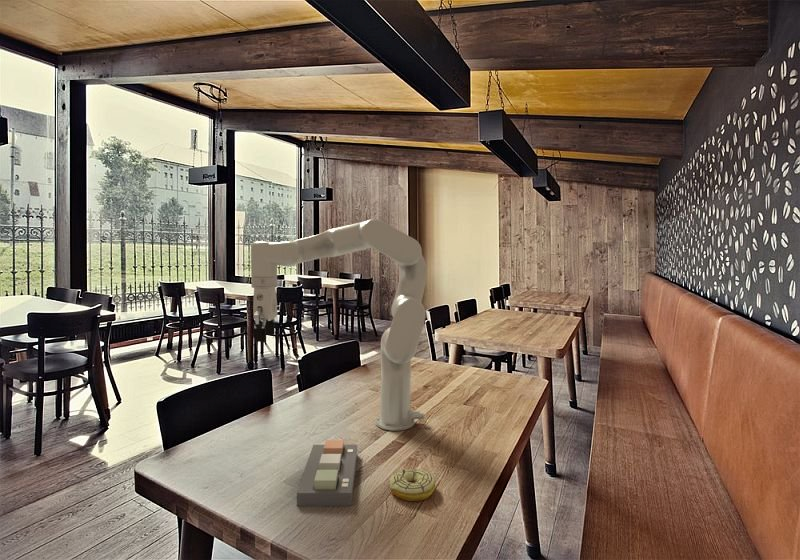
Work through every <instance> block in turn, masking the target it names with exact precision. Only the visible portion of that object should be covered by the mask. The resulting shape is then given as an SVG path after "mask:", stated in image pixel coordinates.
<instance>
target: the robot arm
mask: <svg viewBox="0 0 800 560" xmlns="http://www.w3.org/2000/svg"><path fill="white" fill-rule="evenodd" d="M368 249H374V250H375V251H377V252H379V253H380V254H382V255H384V256H386V257H387V258H390V259H391V260H393V262H396V263H397V264H398V265H399V271H400V275H399V280H398V284H397V285H398V286H397V289H396V291H395V295H394V299H393V302H392V304H391V309H390V311H391V313H390V314H391V316H392V321H391V324H390V327H388V328H387V329H385V331H384V332H383V333H382V335H381V339H380V363H381V364H380V366H381V367H380V370H381V373H380V415H378V416H377V417H375V425H376V426H377V428H378V427H379V428H380V429H383V430H385V431H386V430H387V431H393V432H395V431H405V430H409V429H411V428H412V427H414V425H415V420H424V419H425V413H423V412H422V413H421V411H420V410H415V411H414V410H412V408H411V376H412V370H411V369H412V364H411V363H412V362H411V361H412V359H413V358H414V356H415V355H416V352H417V350H418V347H419V343H420V339H421V335H422V333H423V330H424V325H425V322H426V321H425V320H426V309H425V306H424V304H423V303H422V301H423V297H424V293H425V288H426V284H427V279H428V269H427V263H426V260H425V258H424V256H423V251H422V250H423V249H422V246H421V244H420V243H419V241H417V239H415V238H414V237H412V236H409V235H408V234H407V233H405V232H402V231H401V230H399V229H397V228H395V227H393V226H392V225H390V224H388V223H387V222H385V221H384V220H381V219H379V218H371V219H368V220H364V221H360V222H356V223H352V224H348V225H343V226H339V227H334V228H331V229H330V228H329V229H327V230H325V231H324V232H321V233H319V234H316V235H311V236H309V237H308V236H307V237H304V238H299V239H295V240H288V241H287V240H286V241H280V242H274V241H254V242H252V243H251V245H250V263H251V264H250V265H251V266H250V267H251V269H250V271H251V274H250V275H251V276H250V277H251V281H250V283H251V288H252V289H253V300H252V301H253V304H252V306H253V307H252V309H253V310H252V311H253V312H252V313H253V320H254V321H253V324H254V326H253V327H254V342H255V343H259V342H260V343H261V342H262V343H263V342H266V341H267V336H275V334H276V333H275V330H276V329H275V328H276V327H275V318H277V317H278V302H277V301H278V298H277V297H278V296H277V290H276V288H278V266H283V267H293V266H296V265H299V264H302V263H306V262H310V261H314V260H319V259H324V258H335V257H340V256H343V255H349V254H352V253H356V252H360V251H364V250H368Z"/></svg>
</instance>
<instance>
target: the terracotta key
mask: <svg viewBox="0 0 800 560" xmlns="http://www.w3.org/2000/svg"><path fill="white" fill-rule="evenodd" d="M344 442H345V440H344V439H326V440H325V442H324V444H323V445H324V454H341V456H343V452H344V445H345V444H344Z"/></svg>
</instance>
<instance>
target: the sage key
mask: <svg viewBox="0 0 800 560" xmlns="http://www.w3.org/2000/svg"><path fill="white" fill-rule="evenodd" d="M337 484H338V470H317V473H316V476H315V480H314V490H336V489H337Z"/></svg>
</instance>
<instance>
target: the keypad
mask: <svg viewBox="0 0 800 560" xmlns="http://www.w3.org/2000/svg"><path fill="white" fill-rule="evenodd" d="M324 445H325V444H313V445H312V448H311V450H310V453H309V456H308V459H307V462H306V465H305V468H304V472H303V473H302V476H301V479H300V483H299V486H298V488H297V492H296V506H297V507H342V506H343V507H351V506H352V502H353V493H354V486H355V477H356V476H355V475H356V469H357V459H358V444H344V452H343V456H341V468H340V472H338V484H337V489H336V490H314V480H315V476H316V473H317V470H319V462H320V459H321V455H322V454H324Z"/></svg>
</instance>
